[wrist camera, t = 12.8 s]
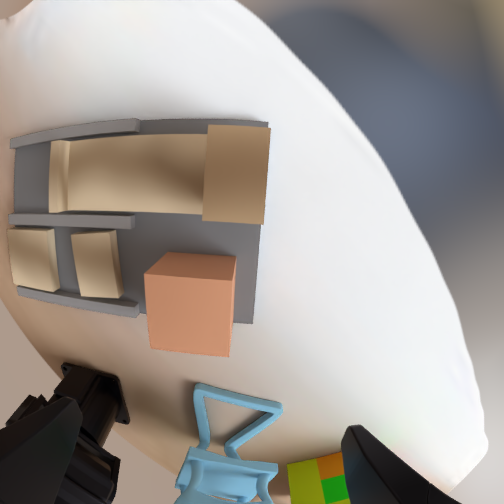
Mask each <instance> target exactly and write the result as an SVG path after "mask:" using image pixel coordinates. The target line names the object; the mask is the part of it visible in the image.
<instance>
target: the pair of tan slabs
mask: <svg viewBox="0 0 504 504" xmlns="http://www.w3.org/2000/svg"><path fill="white" fill-rule="evenodd" d="M7 238H8V248H9V256H10V263H11V270H12V276H13V282H14V284H17V285H21V286H26V287H31V288H35V289H40V290H45V291H51V292H54V291H56V290H57V289H59V288H60V282H59V275H58V267H57V258H56V247H55V234H54V229H49V228H25V227H13V228H10V229H7ZM71 240H72V247H73V254H74V260H75V266H76V272H77V278H78V283H79V288H80V293H81V296H86V297H104V298H119V297H120V296H121V295H122V294H124V287H123V281H122V275H121V268H120V260H119V252H118V244H117V235H116V230H103V231H86V232H77V233H74V234H72V235H71Z"/></svg>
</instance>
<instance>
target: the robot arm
mask: <svg viewBox="0 0 504 504" xmlns="http://www.w3.org/2000/svg"><path fill="white" fill-rule="evenodd" d="M61 368H62V371H63V374H64V378H63V380H62V381H61V382H60V383H59V385H58V386H57V387H56V388H55V390H54V394H53V396H52V397H51V398H50V400H49V401H48V402H47V401H46V400H45V398H44V397H43V395H42V394H41V395H40V396H39V397H38V398H36V397H34V396H31V395H29V396H28V397H27V398H26V399H25V400H24V402H23V403H22V404H21V405H20V406H19V407H18V409H17V410H16V411H15V412H14V413H13V415H12V416H11V417H10V418H9V420H8V421H7V422H6V427H5V428H2V429H1V430H0V504H111V503H112V501H113V499H114V497H115V494H116V490H117V482H118V474H119V467H120V461H121V460H120V459H119V458H118V457H116V456H113V455H111V454H110V453H109V452H107V451H106V450H105V449H103V448H102V447H103V445H104V443H105V441H106V439H107V436H108V434H109V432H110V430H111V428H112V426H113V424H114V422H118V423H122V424H129V422H130V417H129V414H128V411H127V407H126V404H125V400H124V396H123V392H122V388H121V384H120V380H119V379H118V377H116V376H114V375H110V374H106V373H102V372H98V371H94V370H90V369H86V368H83V367H79V366H76V365H72V364H69V363H65V362H64V363H63V364H62V365H61ZM113 380H114V381H113ZM341 450H342V458H343V466H344V475H345V483H346V487H347V492H348V496H349V500H350V504H461V503H459V502H458V501H456V500H454V499H453V498H451V497H449V496H448V495H446V494H445V493H443V492H442V491H441V490H439V489H438V488H437V487H435V486H434V485H433V484H431V483H430V484H429V481H427V480H426V479H425V478H424V477H422V476H421V475H420V474H419V473H417V472H416V471H415V470H414V469H412V468H411V467H410V466H409V465H407V464H406V463H405V462H404V461H403V460H401V459H400V458H399V457H398V456H397V455H395V454H394V453H393V452H392V451H391V450H390V449H388V448H387V447H386V446H385V445H384V444H382V443H381V442H380V441H379V440H378V439H377V438H376V437H374V436H373V435H372V434H371V433H370V432H369V431H368V430H366V429H365V428H364V427H363V426H362V425H351V426H349V427H348V428H347V429H346V432H345V434H344V436H343V439H342V441H341Z"/></svg>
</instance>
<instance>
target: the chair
mask: <svg viewBox="0 0 504 504" xmlns="http://www.w3.org/2000/svg"><path fill="white" fill-rule="evenodd" d="M203 396H206V397H209V398H213V399H216V400H220V401H223V402H227V403H231V404H235V405H239V406H243V407H247V408H251V409H256V410H260V411H265V412H267V413H266V414H264V415H263V416H262V417H260V418H259V419H257V420H256V421H255V422H253V423H252V424H250V425H249V426H247V427H246V428H244V429H243V430H241V431H240V432H239V433H237V434H236V435H234V436H233V437H232V438H230V439H229V440H228V441H227V442H226V443H225V447H224V451H225V453H226V455H227V457H225V456H222V455H219V454H215V453H212V452H209V451H206V449H207V448H208V447H209V444H210V429H209V423H208V418H207V413H206V409H205V404H204V399H203ZM193 402H194V409H195V414H196V419H197V425H198V430H199V438H200V443H199V445H198V446H197V447H196V448H194V447H190V448H189V451H188V453H187V455H186V458H185V461H184V463H183V465H182V467H181V470H180V472H179V475H178V477H177V479H176V484H175V488H178V489H180V490H181V495H180V496H179V497H178V498H177V500H176V501H175V503H174V504H273V502H272V500H271V498H270V496H269V493H268V488H267V486H268V482H269V481H271V480H272V479H273V478H274V477H275V476H276V474H277V473H278V464H277V463H269V462H262V461H247V460H241V458H240V457H239V455H238V453H237V452H236V449H237V448H238V447H239V446H241V445H242V444H243V443H245V442H246V441H248V440H249V439H251V438H252V437H253V436H255V435H256V434H258V433H259V432H261V431H262V430H263V429H265V428H266V427H268V426H269V425H270V424H271V423H273V422H274V421H275V420H276V419H278V418H279V417H280V416H281V414H282V413H283V407H282V404H281V403H279V402H274V401H269V400H264V399H260V398H255V397H251V396H247V395H243V394H239V393H235V392H231V391H227V390H223V389H220V388H216V387H213V386H209V385H206V384H202V383H197V384H196V385H195V388H194V392H193ZM257 493H258V495H259V497H260V499H261V500H262V501H261V502H249V501H250V500H252V499H253V498H254V497H255V495H256V494H257ZM206 494H207V495H206ZM208 495H212V496H217V497H222V498H226V499H231V500H236V501H237V502H232V501H226V500H221V499H218V498H214V497H211V496H208ZM247 502H249V503H247Z"/></svg>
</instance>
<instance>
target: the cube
mask: <svg viewBox="0 0 504 504" xmlns="http://www.w3.org/2000/svg"><path fill="white" fill-rule="evenodd" d="M236 258H237V256H222V255H206V254H192V253H177V252H167V253H166V254H165V255H164V256H163V257H162V258H161V259H159V260H158V261H157V262H156V263H155V264H154V265H153V266H152V267H151V268H150V269H149V270H148V271H146V272H145V273H144V282H145V298H146V310H147V322H148V331H149V341H150V348H152V349H159V350H166V351H174V352H182V353H190V354H200V355H210V356H222V357H229V352H230V344H231V335H232V326H233V315H234V295H235V276H236Z"/></svg>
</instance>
